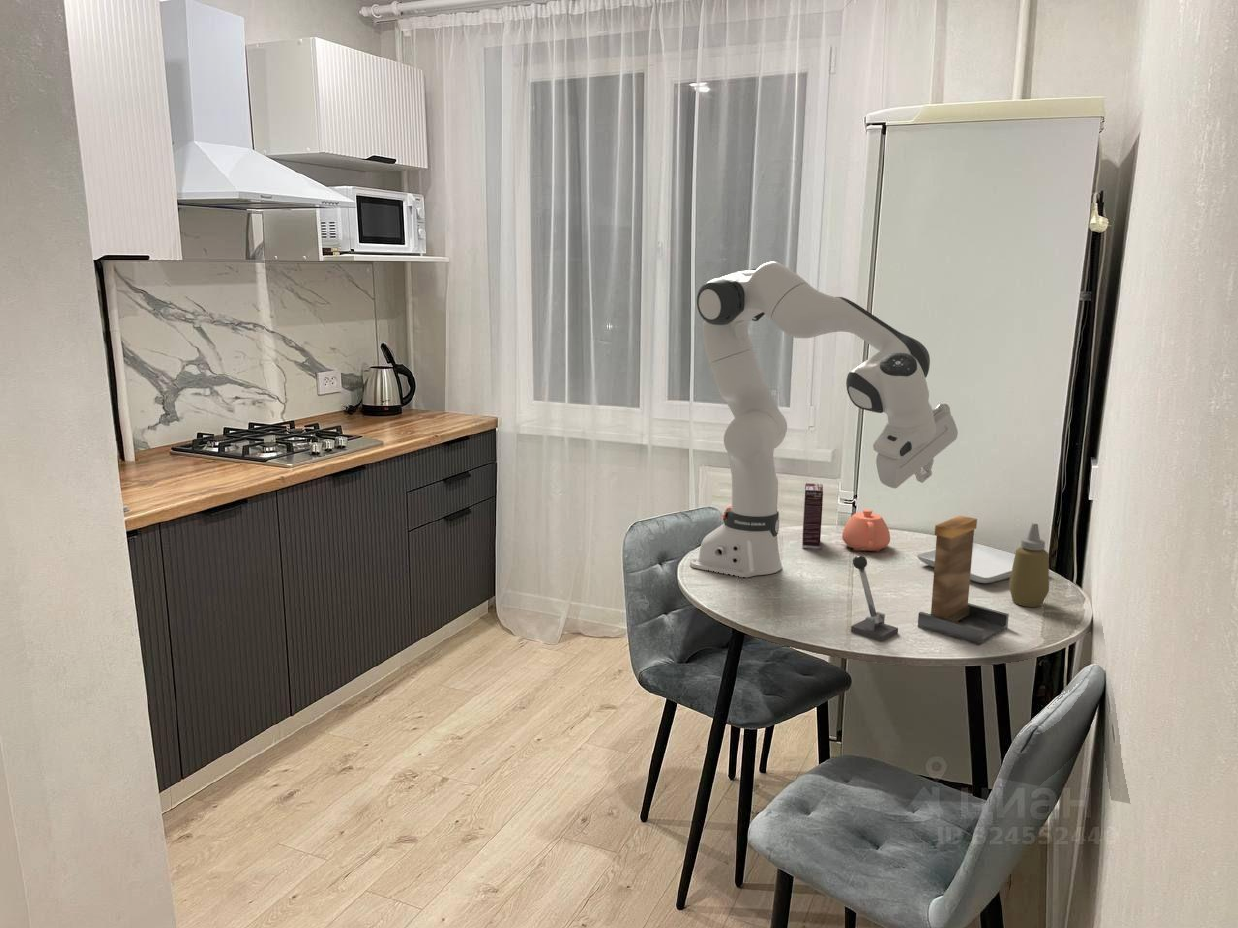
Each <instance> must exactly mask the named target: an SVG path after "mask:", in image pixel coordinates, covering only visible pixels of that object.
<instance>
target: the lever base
mask: <svg viewBox="0 0 1238 928" xmlns="http://www.w3.org/2000/svg"><path fill="white" fill-rule="evenodd" d="M876 614H879V615H881V617H882V619H883V621H882V623H881V624H879V625H877V626H875V627H874V625H875V619H874V618H870V617H871V616H866V617H865V619H863V620H860V621H859V622H857V623H855V624H852V625H851V626H850V632H851V633H853V632H854V633H853V634H857V635H860V636H863V637H867V638H869V639H872V640H875V641H878V642H881V643H882V642H885V641H887V640H888V639H891V638H892V637H894V636H895V635H898V634H899V627H896V626H892V625H889V624H887V623H885V618H886V614H885V613H883V612H880V611H876Z"/></svg>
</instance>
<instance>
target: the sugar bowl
mask: <svg viewBox="0 0 1238 928" xmlns="http://www.w3.org/2000/svg"><path fill="white" fill-rule="evenodd" d="M841 538H842V540H843V542H844V544H845V545H846V546H847V547H848V548H852V549H853V551H856V552H861V551H873V552H881V550H884V549H885V548H886V547H888V545H889V544H891V543H890V542H891V533H890V531H889V527H888V525H887V524H886V521H885V520H884V518H883V517H882V516H881V515H880V514H877V513H873V510H872V509H866V508H865V509H863V510H862V512H856V513H854V514H852V516H850V518H849V520H847V522H846V523H845V526H844V528H843V531H842V533H841Z"/></svg>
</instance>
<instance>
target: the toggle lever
mask: <svg viewBox="0 0 1238 928" xmlns="http://www.w3.org/2000/svg"><path fill="white" fill-rule="evenodd" d="M852 565H853V567H854V568H855V569H857V570H858V571H859V572H858V573H859V577H860V580H861V583H862V587H863V590H864V591H863V592H864V595H865V599H866V603H867V607H868V610H869V615H870V616H869V617H870V618H874V619H875V625H874V627H875V626H877V625H879V624H881V623H882V621H883V619H882V617H881V615H879V614H876V612H877V610H876V607H875V604H874V599H873V596H872V591H871V587H870V584H869V580H868V577H867V572H866V567H867V565H868V559H867V558H866V557H865V556H864V555H861V554H860V555H859V554H858V555H856V556H855V557H854V558H853V560H852Z"/></svg>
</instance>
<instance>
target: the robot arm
mask: <svg viewBox="0 0 1238 928" xmlns="http://www.w3.org/2000/svg"><path fill="white" fill-rule="evenodd" d="M696 307H697V311H698V314H699V315H700V317H701V318H702V319H703V322H702V326H701V331H702V341H703V345H704V348H705V349H704V350H705V354H706V358H707V361H708V364H709V367H710V369H711V373H712V376H713V378H714V381H715V382H714V383H715V385H716V388H717V391H718V394H719V396H720V397H721V398H722V399H723V400H724V402H725V403H726V404H727V406H728V408H729V410H730V412H731V414H732V415H733V417H734V419H733V420H732V421H731V422H730V423H729V424H728V426H727V427H726V429H725V430H724V431H725V432H724V436H723V445H724V448H725V451H727V453H728V461H729V462H728V463H729V466H730V472H731V506H728V507H727V508H726V509H725V511H724V512H723V514H722V521H723V524H721V525H719V526H718V527H717V528H715V529H713V530H712V531H711V532H709V533H708V534H706V536H705V537H704V538H703V540H702V541H701V544H700V548H699V550H698V552H696V553H694V554H693V555H692V557H691V558H690V563H689V565H690V567H691V568H694V569H698V570H704V571H708V570H709V571H708V572H713V571H714V573H718V572H719V573H718V574H723V573H724V575H728V574H730V575H729V576H733V575H735V576H734V577H738V576H739V577H738V578H743V577H745V578H750V577H755V576H763V575H764V576H765V575H770V574H774V573H777V572H780V571H781V570H782V569H783V566H782V562H781V556H780V553H779V544H778V534H779V530H780V513H779V511H778V499H779V498H778V496H779V479H778V477H777V475H776V469H775V462H774V451H775V449H776V448H778V447H779V446H780V445H781V444H782V443H783V441H784V440H785V437H786V435H787V431H788V423H787V419H786V418H785V416H784V414H783V413H782V412H781V411H780V409H779V407H778V405H777V403H776V400H775V399H774V397H773V395H772V394H771V391H770V389H769V388H768V386H767V383H766V382H765V379H764V377H763V374H762V370H761V367H760V364H759V361H758V359H757V355H756V352H755V350H754V346H753V344H752V341H751V338H750V335H749V325H750V324H751V321H754V322H758V321H759V320H760V319H761V318H762V317H764V315H766V317H768V318H769V319H770V320H771V321H772V323H774V324H775V325H776V327H778V329H780V330H781V331H782V332H783V333H785V334H786V335H788V336H790V337H792V338H795V339H811V338H815V337H819V336H822V335H826V334H831V333H832V334H833V333H837V332H846V333H849V334H853V335H856V337H858V338H860V339H861V340H862V341H864V342H866V343H867V344H869V345H870V346H871V347H873V348H874V349H875V350H877V351H878V352H877V353H876V354H874V355H872V356H871V357H869V358H868V359H865V360H864V361H863V362H862V363H860V364H859V365H858V366H856V367H855V368H853V369H852V370H851V371H850V372H848V374H847V376H846V379H845V380H846V383H845V385H846V391H847V395H848V397H849V399H850V401H851V402H852V403H853V405H854V406H855V407H857V408H859V409H861V410H864V411H867V412H872V413H877V414H883V413H884V414H886V416H887V422H886V425H885V426H884V429H883V430H882V432H881V433H880V434H879V435H878V437H877V438H876V439H875V441H874V442H873V444H872V448H873V451H874V452H876V453H877V454H876V459H875V460H876V461H875V462H876V463H875V464H876V469H877V473H878V478H879V481H880V483H881V484H882V485H884V486H886V487H889V488H892V489H898V488H899V487H900V486H901V485H903V484H904V483H905V482H906V481H907V480H908V479H910V477H912V476H913V475H914V476H915V478H916V479H915V480H916V481H918V482H919V483H921V484H922V483H924V482H925V481H926V480H928V479H929V478H930V477H932V475H933V472H932V468H933V465H934V458H935V457H937V456H938V455H939V454H940V453H941V452H943V451H944V450H945V449H947V447H948V446H950V445H951V444H952V443H953V442H955V441H956V440H957V438H958V435H959V433H958V428H957V425H956V421H955V420H954V417H953V415H952V414H951V408H950V406H949V404H947V403H940V404H937V406H936V407H935V408H933V407H932V405H931V404H930V402H929V398H930V392H929V391H930V390H929V388H928V383H927V382H928V381H927V380H926V378H927V377H928V374H929V371H930V366H931V358H930V353H929V351H928V349H927V348H926V347H925V345H924V344H923V343H921V341H919V340H917V339H915V338H913V337H910V336H908V335H906V334H904V333H902V332H900V331H898V330H897V329H896V328H893V326H890V325H889V324H887V323H886V322H884V321H883V320H881V319H880V318H878V317H877V316H875V315H874V314H872V313H871V312H869V311H868V310H867V309H865V308H864V307H862V306H861V305H858V304H857V303H855V302H854V301H852V300H850V299H848V298H846V297H843V296H833V295H829V294H828V293H827V294H826V293H823V292H822V291H819V290H818V289H816V288H815V287H813V286H812V285H810V284H809V283H808V282H807V281H806V280H805V279H804V278H802V277H801V276H800V275H799V274H797V272H795V271H794V270H791V269H790V268H789V267H788V266H785V265H783V264H782V263H780V262H777V261H769V262H766V263H763V264H761V265H760V266H758V267H757V268H752V269H750V270H740V271H734V272H732V273H730V274H727V275H724V276H721V277H717V278H712V279H711V280H709V281H706V282H705V283H704V284H703V285H702V286H701V287H700V289H699V290H698V292H697V296H696Z"/></svg>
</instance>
